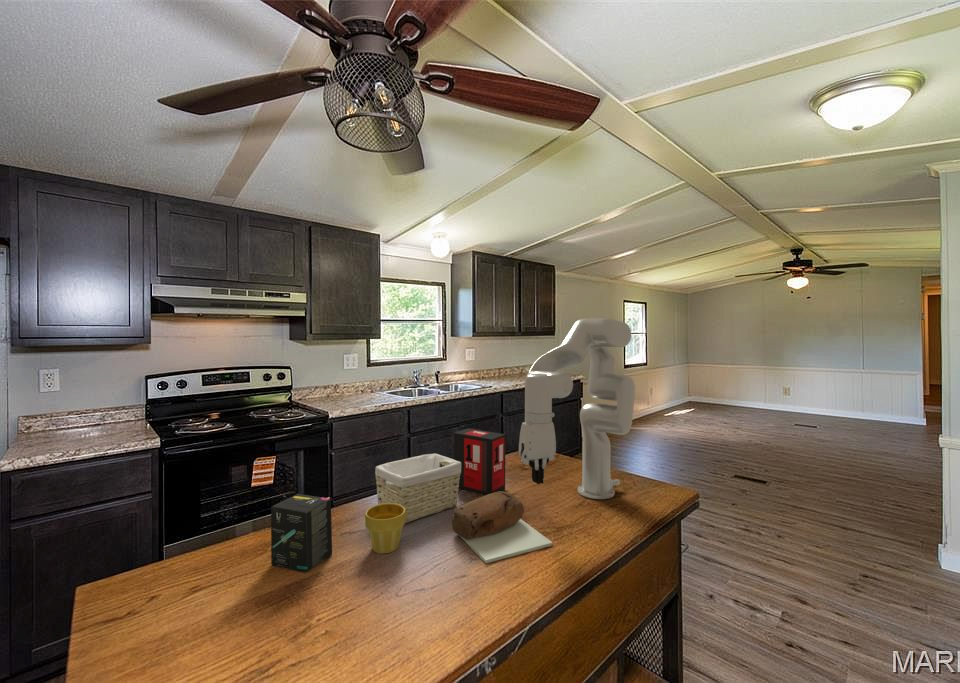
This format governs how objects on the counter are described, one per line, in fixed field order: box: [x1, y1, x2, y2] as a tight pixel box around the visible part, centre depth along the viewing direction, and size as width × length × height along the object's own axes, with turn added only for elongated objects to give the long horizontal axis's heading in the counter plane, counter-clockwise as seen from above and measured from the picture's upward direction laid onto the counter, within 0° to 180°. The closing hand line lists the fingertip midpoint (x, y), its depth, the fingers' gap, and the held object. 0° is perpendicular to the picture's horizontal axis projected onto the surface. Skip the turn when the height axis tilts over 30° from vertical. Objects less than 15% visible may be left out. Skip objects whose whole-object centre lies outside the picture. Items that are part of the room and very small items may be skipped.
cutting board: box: [458, 518, 553, 564], centre depth 117 cm, size 20×17×1 cm
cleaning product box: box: [453, 428, 506, 496], centre depth 155 cm, size 16×9×20 cm, turn 55°
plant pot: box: [364, 503, 406, 554], centre depth 112 cm, size 10×10×10 cm
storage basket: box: [374, 453, 461, 524], centre depth 137 cm, size 24×16×15 cm
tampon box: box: [270, 493, 333, 574], centre depth 106 cm, size 11×9×15 cm
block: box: [451, 491, 525, 539], centre depth 123 cm, size 11×8×20 cm
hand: (537, 482), depth 122 cm, fingers closed
